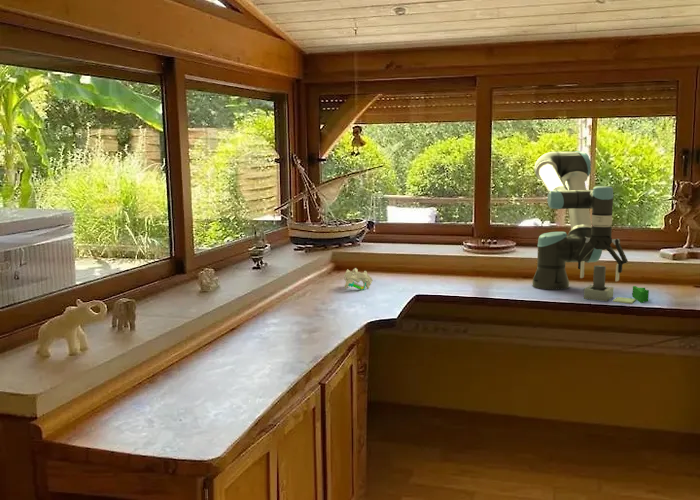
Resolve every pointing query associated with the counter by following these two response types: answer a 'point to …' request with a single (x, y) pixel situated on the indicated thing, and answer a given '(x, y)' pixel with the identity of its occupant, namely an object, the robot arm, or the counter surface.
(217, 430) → the counter surface
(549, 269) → the robot arm
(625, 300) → the pad
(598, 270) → the grey rectangular bar
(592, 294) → the housing
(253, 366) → the counter surface
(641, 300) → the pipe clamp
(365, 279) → the jaw support
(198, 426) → the counter surface
